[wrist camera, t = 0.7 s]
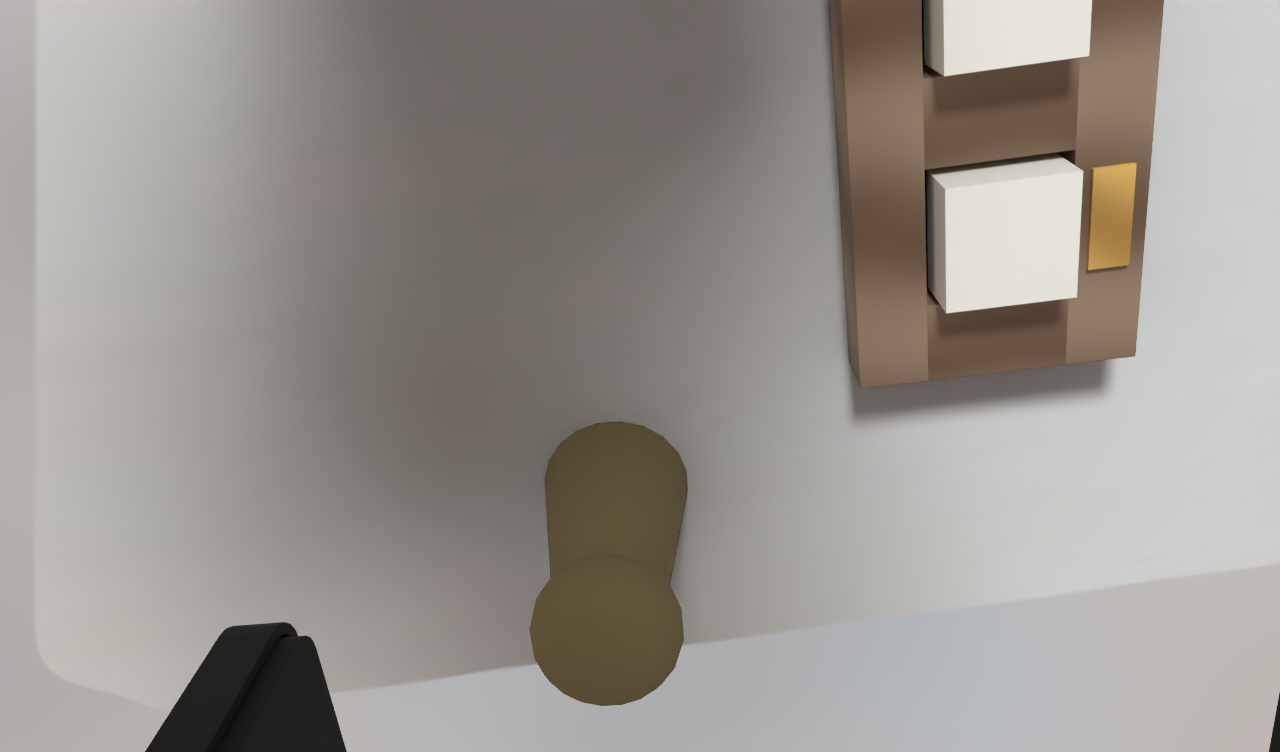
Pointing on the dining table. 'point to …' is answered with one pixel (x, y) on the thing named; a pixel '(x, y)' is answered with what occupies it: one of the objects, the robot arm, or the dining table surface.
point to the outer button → (1004, 232)
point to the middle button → (1003, 33)
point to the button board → (979, 132)
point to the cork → (611, 564)
